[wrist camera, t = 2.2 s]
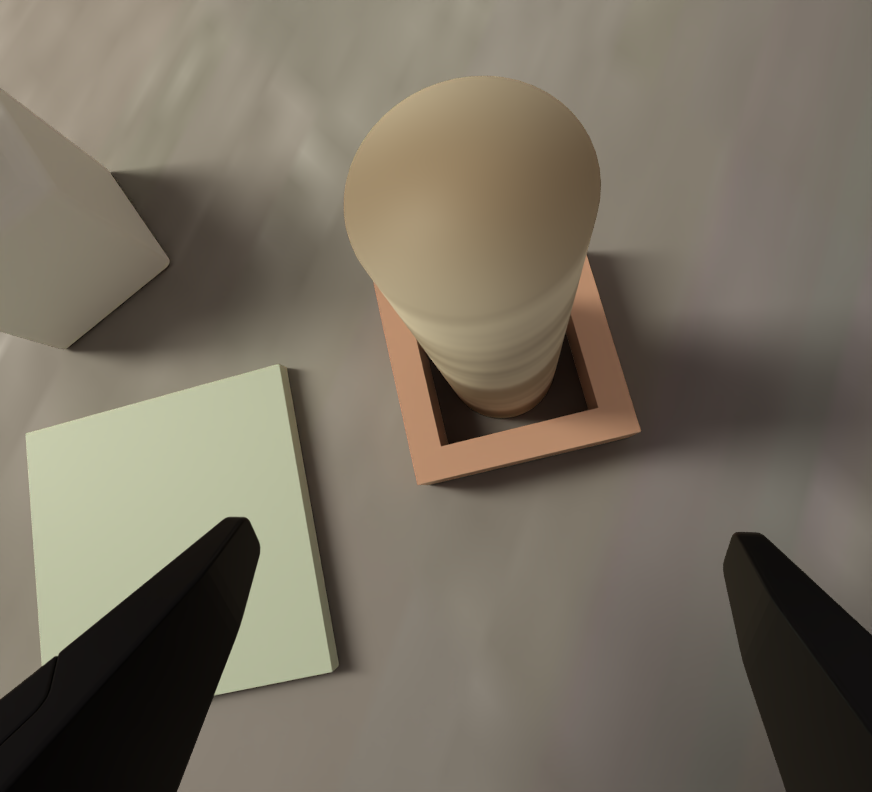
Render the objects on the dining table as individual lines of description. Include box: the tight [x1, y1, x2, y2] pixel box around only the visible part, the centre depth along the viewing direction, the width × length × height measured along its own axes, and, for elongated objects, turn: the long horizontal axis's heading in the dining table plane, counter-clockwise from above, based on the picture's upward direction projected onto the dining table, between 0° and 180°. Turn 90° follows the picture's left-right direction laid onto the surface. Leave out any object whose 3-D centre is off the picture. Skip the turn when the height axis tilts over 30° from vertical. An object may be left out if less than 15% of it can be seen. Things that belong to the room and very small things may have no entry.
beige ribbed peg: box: [344, 76, 601, 418], centre depth 16 cm, size 4×4×14 cm
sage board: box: [26, 364, 339, 695], centre depth 24 cm, size 13×13×1 cm
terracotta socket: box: [373, 255, 641, 485], centre depth 22 cm, size 8×8×2 cm
